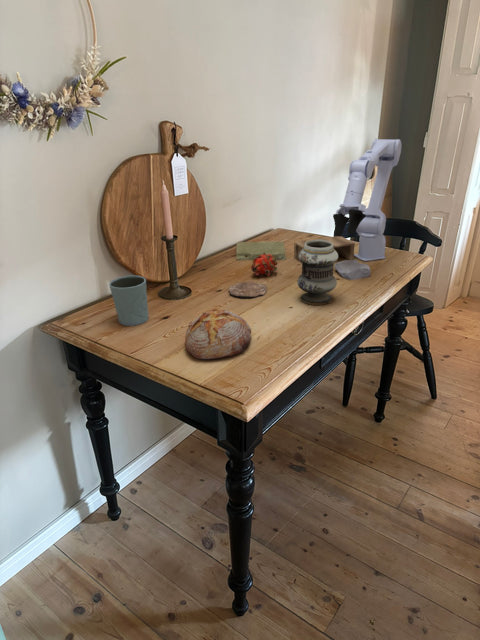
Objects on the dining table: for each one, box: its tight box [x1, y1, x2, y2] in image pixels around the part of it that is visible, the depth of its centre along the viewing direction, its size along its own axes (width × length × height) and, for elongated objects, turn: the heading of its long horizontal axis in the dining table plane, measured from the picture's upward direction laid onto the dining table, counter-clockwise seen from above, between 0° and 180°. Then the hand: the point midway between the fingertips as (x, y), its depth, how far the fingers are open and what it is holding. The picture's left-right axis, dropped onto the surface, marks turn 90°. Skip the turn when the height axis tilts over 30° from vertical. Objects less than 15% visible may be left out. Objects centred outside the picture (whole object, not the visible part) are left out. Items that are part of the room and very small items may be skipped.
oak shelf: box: [293, 235, 356, 264], centre depth 182 cm, size 20×12×6 cm, turn 109°
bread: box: [184, 309, 252, 360], centre depth 121 cm, size 16×20×10 cm
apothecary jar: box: [296, 239, 339, 306], centre depth 144 cm, size 12×12×18 cm
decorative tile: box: [235, 241, 287, 261], centre depth 191 cm, size 19×20×4 cm
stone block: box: [333, 259, 371, 281], centre depth 167 cm, size 12×5×10 cm
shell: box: [228, 281, 268, 299], centre depth 154 cm, size 12×13×4 cm
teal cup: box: [108, 275, 149, 327], centre depth 136 cm, size 10×10×12 cm
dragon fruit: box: [250, 253, 278, 277], centre depth 168 cm, size 8×8×12 cm
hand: (344, 234), depth 157 cm, fingers open, 7 cm apart
